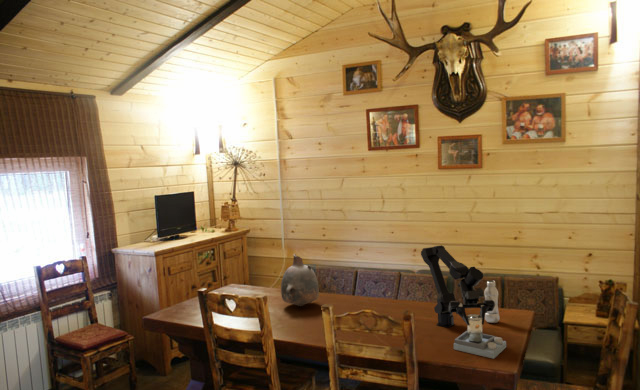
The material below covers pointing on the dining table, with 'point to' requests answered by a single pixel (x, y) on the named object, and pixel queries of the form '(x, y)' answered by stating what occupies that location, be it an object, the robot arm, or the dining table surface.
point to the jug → (299, 284)
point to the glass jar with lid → (474, 327)
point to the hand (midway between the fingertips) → (475, 324)
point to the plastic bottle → (492, 294)
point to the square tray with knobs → (480, 345)
